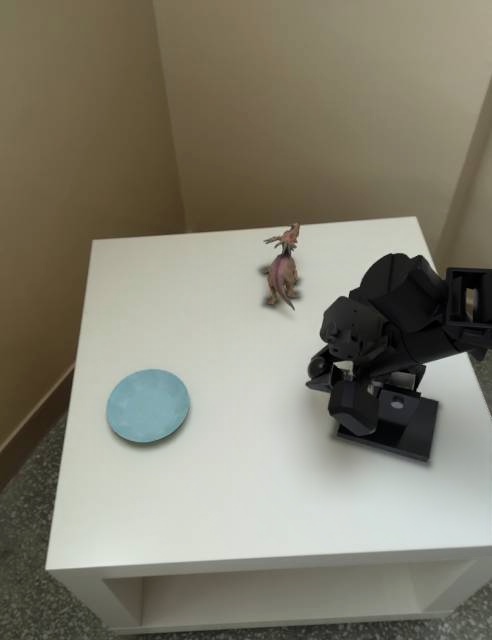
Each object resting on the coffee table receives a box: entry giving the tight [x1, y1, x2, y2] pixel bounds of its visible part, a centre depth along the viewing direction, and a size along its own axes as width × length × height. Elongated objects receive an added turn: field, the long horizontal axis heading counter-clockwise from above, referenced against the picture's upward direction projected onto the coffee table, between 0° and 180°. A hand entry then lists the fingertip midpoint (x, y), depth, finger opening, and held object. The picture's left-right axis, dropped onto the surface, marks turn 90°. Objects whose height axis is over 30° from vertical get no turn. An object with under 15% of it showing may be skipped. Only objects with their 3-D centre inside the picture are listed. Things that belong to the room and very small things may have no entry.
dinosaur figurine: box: [262, 222, 301, 312], centre depth 84 cm, size 14×6×9 cm, turn 176°
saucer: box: [105, 368, 190, 443], centre depth 75 cm, size 12×12×2 cm
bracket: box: [335, 364, 440, 463], centre depth 68 cm, size 12×9×11 cm
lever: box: [306, 356, 416, 390], centre depth 67 cm, size 13×4×4 cm, turn 70°
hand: (310, 373), depth 70 cm, fingers closed on lever, 3 cm apart
